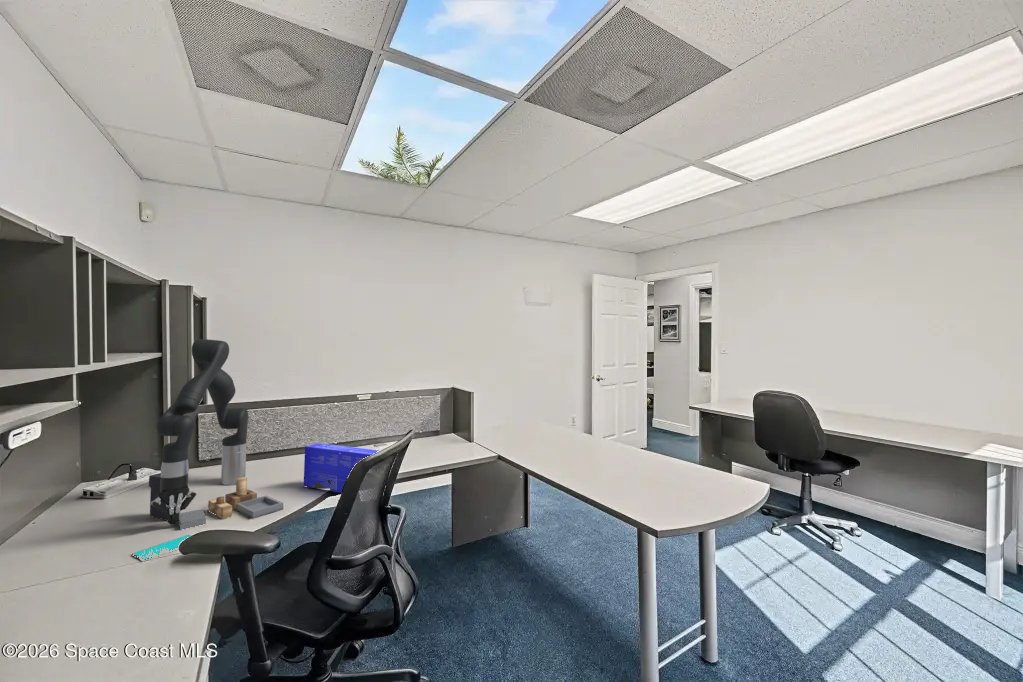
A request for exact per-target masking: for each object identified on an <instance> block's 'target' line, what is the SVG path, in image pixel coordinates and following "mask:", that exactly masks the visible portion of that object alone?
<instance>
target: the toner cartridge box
mask: <svg viewBox="0 0 1023 682" xmlns="http://www.w3.org/2000/svg"><path fill="white" fill-rule="evenodd" d="M377 451H379V449H371V448H363V447H355V446H346V445H345V446H344V445H337V444H330V443H329V444H328V443H322V442H321V443H320V442H318V443H313V444H310V445H306V446H305V447H304V464H303V465H304V467H303V487H304V486H307V487H313V486H315V485H314V484H316V483H317V482H321V483H320V484H321V486H323V487H325V488H330V489H331V490H332V491H333V492H332V493H336V494H341V491H342V489H343V486H344V484H345V481H346V479H347V477H348V475H349V473H350V471H351V470H352V468H353V467H354V465H355V464H356V463H358V462H359V461H360V460H362V459H363V458H365V457H367V456H370V455H372V454H373V453H376V452H377ZM328 480H330V481H331V480H332V481H331V482H330V483H331V484H330V483H328ZM329 484H330V486H329Z"/></svg>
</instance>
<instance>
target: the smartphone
mask: <svg viewBox="0 0 1023 682" xmlns="http://www.w3.org/2000/svg"><path fill="white" fill-rule="evenodd" d="M190 536H191V535H190V534H186V535H183V536H181V537H178V538H174V539H172V540H168V541H166V542H162V543H159V544H157V545H153V546H152V547H148V548H145V549H142V550H140V551H136V552H134V553H132V554H131V556H132V555H133V554H135V555H134V556H136V557H137V556H139V555H140V556H141V555H142V553H143V554H144V550H145V554H144V555H142V557H143V556H144V557H145V556H146V554H147V555H148V554H149V551H150V552H151V549H152V550H153V552H154V553H156V554H158V555H159V553H160V548H161V551H162V548H163V549H164V547H165V549H166V548H168V549H169V551H170V550H171V549H172V550H173V549H175V548H178V545H179V543H180V542H181V541H182V540H184V539H186V538H187V537H190ZM155 548H156V549H157V550H159V551H157V552H156V549H155ZM166 550H167V549H166ZM153 552H152V555H153ZM152 555H151V556H152ZM149 556H150V555H149ZM142 557H141V558H142ZM138 558H139V557H138ZM146 558H147V557H145V559H144V558H142V559H144V560H146ZM151 558H152V557H151ZM147 559H149V557H148V558H147Z"/></svg>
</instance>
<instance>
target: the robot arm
mask: <svg viewBox="0 0 1023 682" xmlns="http://www.w3.org/2000/svg"><path fill="white" fill-rule="evenodd" d="M229 354H230V346H229V344H228V343H227V342H226V341H224V340H217V339H207V338H201V339H197V340H195V341H194V342H193V343H192V345H191V355H192V359H193V361H194V363H195V364H196V366H197V368H198V370H199V371H200V372H199V373H198V374H197V375H195V376H194V377H192V378H191V379H189V380H188V381H187V382H186V383H185V384H184V385H183V386H182V388H181V389H180V391H179V393H178V394H177V395H178V396H177V397H176V399H175V401H174V402H173V403H172V404H171V405H170V406H169V407H168V409H167V410H166V411H165V412H164V413H163V414H162V415H161V416H160V417H159V419H158V421H157V424H156V432H157V434H159V435H160V436H162V437H177V439H176V441H174V442H169V443H167V444H164V445H163V447H162V451H161V452H162V454H161V455H162V456H161V457H162V458H161V467H160V473H161V481H160V493H159V494H158V498H156V499H155V500H154V501H151V502H150V501H149V505H150V504H151V505H153V506H154V507H155V508H156V509H157V510H159V511H160V512H161V513H163V514H164V515H165V514H168V520H166V521H167V523H168V524H169V525H170V526H173V525H174V526H175V525H177V524H178V523H179V522H178V521H179V512H180V513H181V511H185V510H186V509H187V507H188V506H189V505H190V504H191V502H192V501H193V500H194V498H195V497H196V496H197V493H196V492H194V491H191V490H190V488H189V471H190V467H189V446H190V443H191V440H192V437H193V435H194V431H195V429H196V420H195V419H194V417H192V416H191V415H188V414H191V413H194V412H196V411H197V409H198V408H199V406H200V404H201V403H202V399H203V397H204V396H205V393H206V391H208V395H209V396H210V398H211V400H212V404H213V406H214V410H215V413H216V418H217V422H218V426H219V427H220V428H221V429H224V430H236V432H234V434H231V435H228V436H226V437H224V438H222V441H221V472H220V473H221V475H220V477H221V478H220V484H221V485H225V486H234V485H236V479H237V478H241V477H246V474H247V473H246V469H247V467H246V466H247V440H248V439H247V437H248V422H249V412H248V409H247V408H246V407H245V408H244V407H243V408H242V407H239V408H238V407H233V408H232V407H231V408H230V407H228V404H229V403H230V402H231V401H232V400H233V399H234V397H235V395H236V386H235V383H234V380H233V378H232V377H231V375H230V374H228V373H227V372H226V371H225V370H223V369H222V368H223V366H224V364H225V363H226V361H227V359H228V358H229ZM160 500H162V501H163V502H164V503H165V504H166V507H167V509H164V508H163V507H162V506H160V504H161V502H160Z"/></svg>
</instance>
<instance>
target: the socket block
mask: <svg viewBox="0 0 1023 682" xmlns="http://www.w3.org/2000/svg"><path fill="white" fill-rule="evenodd" d="M255 498H258V492H255V491H253V490H251V489H249V488H247V494H246V495H242V496H239V497H238V496H236V491H234V492H229V493H226V494H225V496H224V502H226V503H228V504H230V505H232V510H236V504H237V503H240V502H244V501H248V500H251V499H255Z"/></svg>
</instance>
